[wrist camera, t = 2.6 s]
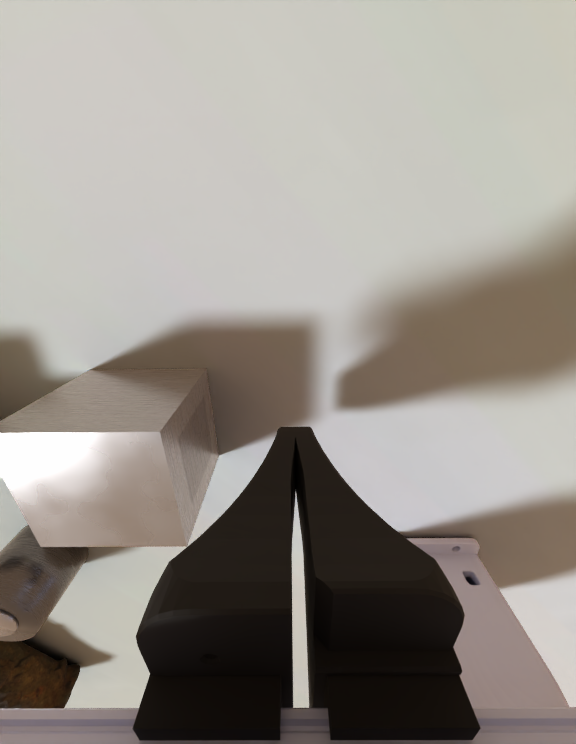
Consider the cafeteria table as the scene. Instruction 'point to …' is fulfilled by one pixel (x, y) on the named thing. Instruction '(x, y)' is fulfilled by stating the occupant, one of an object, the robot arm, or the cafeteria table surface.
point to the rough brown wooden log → (33, 678)
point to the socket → (33, 583)
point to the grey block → (113, 458)
